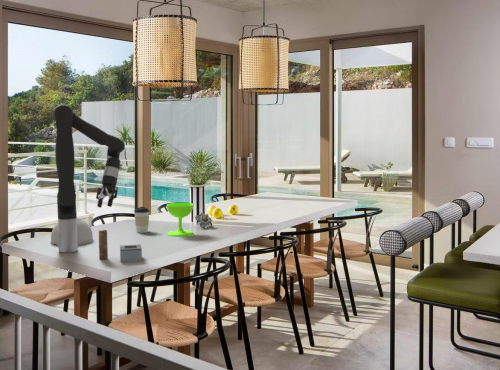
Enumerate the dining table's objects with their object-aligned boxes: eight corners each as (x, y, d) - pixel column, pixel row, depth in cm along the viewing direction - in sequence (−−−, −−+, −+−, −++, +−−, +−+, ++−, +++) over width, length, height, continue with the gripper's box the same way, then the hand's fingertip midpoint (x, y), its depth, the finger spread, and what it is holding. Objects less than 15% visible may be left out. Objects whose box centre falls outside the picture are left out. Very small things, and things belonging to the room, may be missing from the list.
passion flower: (205, 236, 359) (197, 223, 353) (196, 231, 368) (188, 217, 361) (218, 225, 363) (211, 212, 357) (209, 220, 372) (201, 207, 365)
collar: (120, 262, 271) (120, 249, 270) (120, 257, 280) (120, 245, 280) (141, 260, 273) (141, 248, 272) (140, 256, 283) (140, 244, 282)
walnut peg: (99, 259, 275) (98, 231, 274) (99, 258, 279) (98, 230, 278) (107, 259, 276) (107, 231, 275) (107, 257, 280) (107, 229, 278)
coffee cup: (148, 233, 343) (148, 208, 342) (133, 233, 343) (133, 208, 341) (150, 230, 352) (149, 206, 351) (135, 230, 352) (135, 206, 350)
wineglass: (161, 234, 339) (160, 204, 337) (180, 230, 351) (179, 201, 349) (180, 237, 329) (180, 207, 327) (199, 233, 342) (199, 204, 340)
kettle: (53, 237, 330) (51, 199, 328) (93, 235, 336) (92, 198, 333) (49, 246, 306) (47, 205, 304) (92, 244, 311) (91, 203, 309)
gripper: (96, 175, 296) (90, 205, 292) (113, 173, 287) (106, 204, 283) (107, 179, 302) (101, 209, 298) (124, 177, 293) (118, 208, 289)
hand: (104, 206), depth 290 cm, fingers open, 8 cm apart
